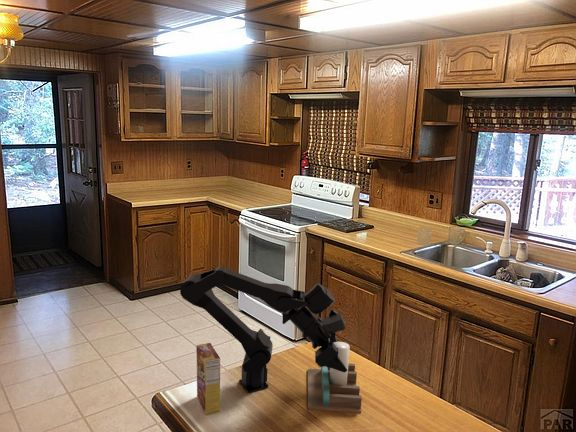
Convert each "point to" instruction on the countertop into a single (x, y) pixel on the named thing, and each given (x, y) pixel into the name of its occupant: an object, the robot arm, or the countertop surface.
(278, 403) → the countertop surface
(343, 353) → the white cylinder
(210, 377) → the candy box
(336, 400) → the comb rack
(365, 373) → the countertop surface
